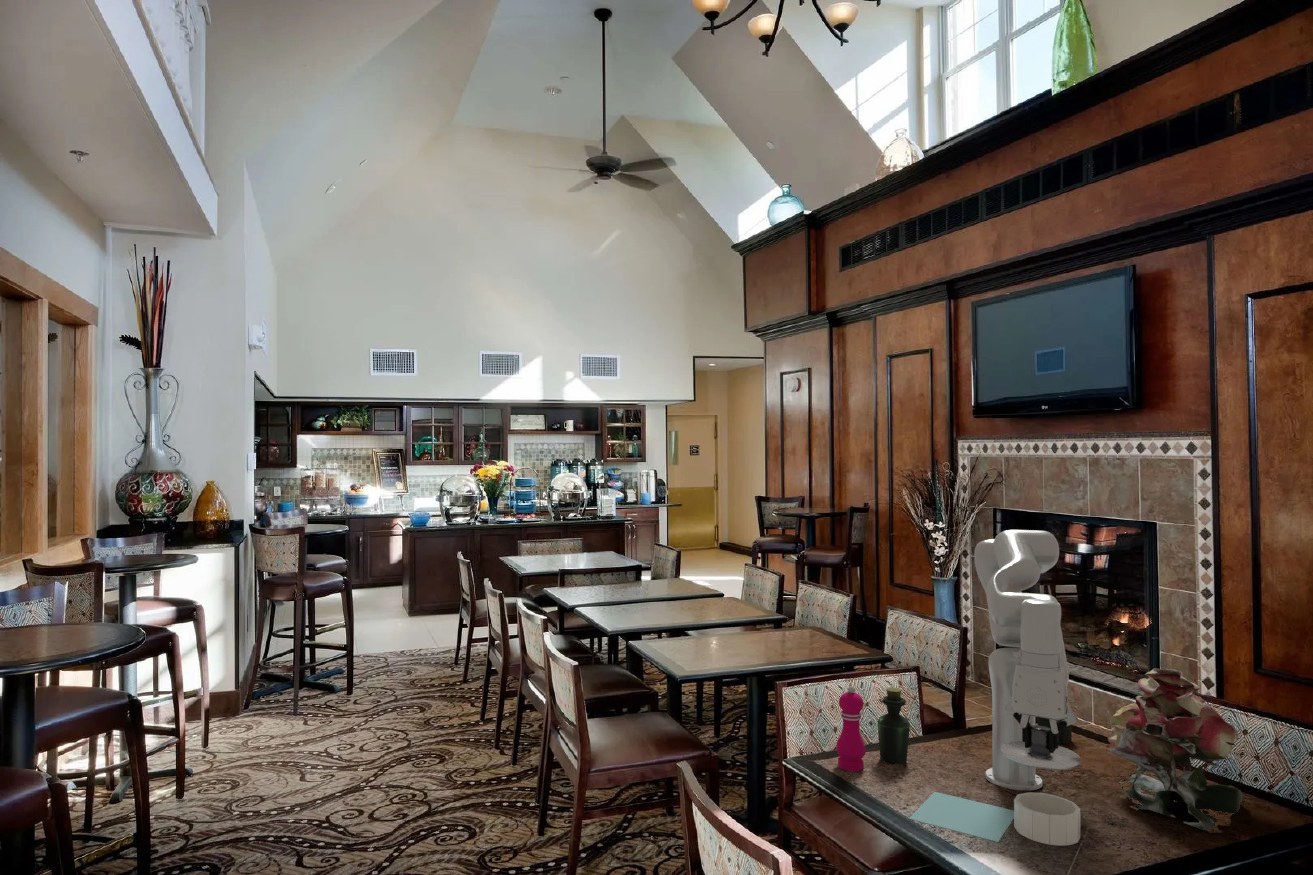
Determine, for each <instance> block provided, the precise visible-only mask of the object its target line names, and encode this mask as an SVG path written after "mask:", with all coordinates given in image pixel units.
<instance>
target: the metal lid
mask: <svg viewBox="0 0 1313 875" xmlns="http://www.w3.org/2000/svg"><path fill="white" fill-rule="evenodd" d="M1050 732H1051V729H1050V728H1048V727H1044V726H1038V724H1035V725H1033V726H1030V747H1029V748H1025V742H1022V741H1011V742H1007V743H1004V744H1003V745H1002V746H1001V753H1002V755H1003V756H1004V757H1006V758H1007V759H1009V760H1011V761H1014V762H1016V763H1019V764H1022V765H1026V766H1030V767H1035V769H1041V770H1050V771H1051V770H1052V771H1064V770H1067V771H1068V770H1073V769H1077V768H1079V767H1080V766H1081V763H1082V762H1081V761H1082V760H1081V756H1080V755H1079V754H1078V753H1077V752H1076V751H1074V750H1071V749H1069V748H1067V747H1064V746H1060V745H1059V747H1058V749H1056V750H1055V751H1054V752H1053V753H1050V752H1049V733H1050Z"/></svg>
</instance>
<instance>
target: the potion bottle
mask: <svg viewBox="0 0 1313 875" xmlns="http://www.w3.org/2000/svg"><path fill="white" fill-rule="evenodd" d="M885 691H886V694H887V695H885V696H883V697H882V699H881V700H882V701H881V703H882V704H884V705H885V706H886V709H887V713H885V714H883V715H881V716H879V717H878V719H877V722H876V723H877V736H878V746H879V747H878V748H879V758H880V760H881V761H882V762H883V763H886V764H888V765H892V766H893V765H894V766H895V765H900V764H901V765H902V764H906V763H907V761H908V760H907V759H908V751H909V750H908V749H909V740H910V739H909V738H910V731H911V730H910V728H911V724H910V723H911V722H910V721H909V720H908V718H906V717H905V716H903V715H902V714H900V713H901V709H902V707H903V706H906V705H907V704H906V700H905V699H904V698H903V697H901V695H902V691H903V690H902V689H901V688H897V687H886V690H885Z"/></svg>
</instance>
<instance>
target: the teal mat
mask: <svg viewBox="0 0 1313 875" xmlns="http://www.w3.org/2000/svg"><path fill="white" fill-rule="evenodd" d="M908 819H909V820H912V821H916V822H920V823H924V824H928V825H931V826H935V827H938V828H943V829H947V830H949V831H950V830H951V831H953V832H958V833H962V834H965V835H969V836H973V837H975V838H976V837H977V838H980V839H985V840H988V841H992V842H995V843H999V842H1000V840H1001V839H1002V837H1003V835H1004V834H1005V832H1006V831H1007V829H1008V828H1009V826H1010V825H1011V823H1012V822H1013V821H1014V809H1009V808H1004V807H1000V806H996V805H991V804H988V803H984V802H979V801H975V800H970V799H967V798H963V797H958V796H954V795H950V794H947V793H943V792H942V793H941V792H938V791H934V792H933V793H932V794H931V795H930V796H929V797H928V798H927V799H926V800H925V801H924V802H923V803H922V804H921V805H920V806H919V807H918V809H916V811H915V812H914V813H913V814H912V815H911V816H910V817H909V818H908Z"/></svg>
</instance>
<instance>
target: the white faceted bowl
mask: <svg viewBox="0 0 1313 875" xmlns="http://www.w3.org/2000/svg"><path fill="white" fill-rule="evenodd" d="M1013 811H1014V819H1013V827H1014V829H1015V830H1016V832H1017V833H1018V834H1019V835H1021V836H1023V837H1024V838H1027V839H1028V840H1031V841H1034V842H1037V843H1040V844H1045V845H1050V846H1060V847H1061V846H1063V847H1065V846H1072V845H1074V844H1077V843H1079V841H1080V839H1081V808H1080V807H1079V806H1078V805H1077V804H1076V803H1075V802H1073V801H1071V800H1069V799H1066V798H1064V797H1062V796H1059V795H1055V794H1050V793H1044V792H1031V791H1027V792H1023V793H1019V794H1016V796H1015V797H1014V799H1013Z"/></svg>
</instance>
